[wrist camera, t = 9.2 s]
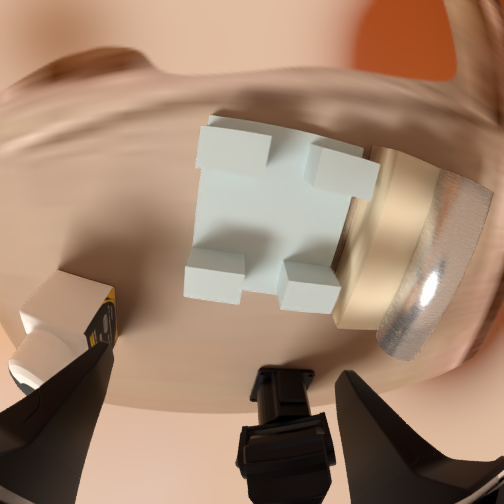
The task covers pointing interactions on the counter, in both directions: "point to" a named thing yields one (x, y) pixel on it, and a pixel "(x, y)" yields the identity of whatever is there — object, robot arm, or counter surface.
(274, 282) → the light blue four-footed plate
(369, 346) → the counter surface
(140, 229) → the counter surface
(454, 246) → the steel axle
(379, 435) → the robot arm
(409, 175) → the beech v-block
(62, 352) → the medicine bottle
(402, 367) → the counter surface
